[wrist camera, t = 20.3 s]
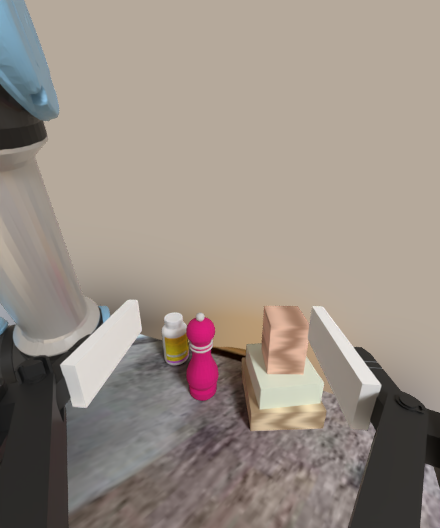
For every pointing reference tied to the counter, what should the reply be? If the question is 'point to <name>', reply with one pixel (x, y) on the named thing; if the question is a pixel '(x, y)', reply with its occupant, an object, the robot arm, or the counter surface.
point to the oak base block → (280, 412)
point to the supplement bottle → (175, 339)
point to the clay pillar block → (284, 340)
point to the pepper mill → (201, 358)
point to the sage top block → (282, 383)
